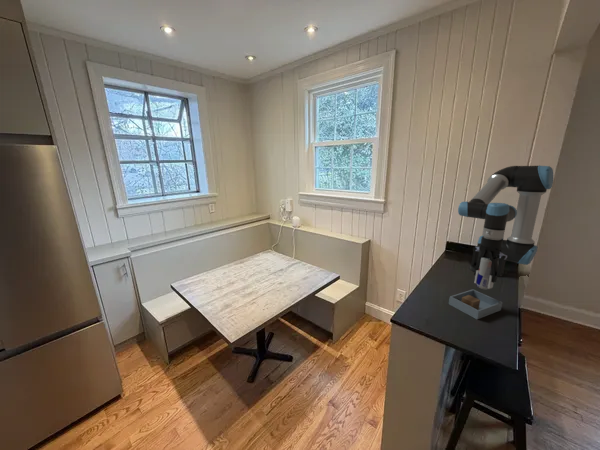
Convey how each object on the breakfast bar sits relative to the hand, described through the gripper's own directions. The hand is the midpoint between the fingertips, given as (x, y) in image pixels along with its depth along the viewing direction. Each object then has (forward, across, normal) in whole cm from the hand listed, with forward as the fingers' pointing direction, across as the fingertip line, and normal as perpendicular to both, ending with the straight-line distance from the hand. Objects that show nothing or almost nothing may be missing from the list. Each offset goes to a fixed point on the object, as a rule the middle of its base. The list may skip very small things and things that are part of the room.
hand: (483, 285), depth 114 cm
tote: (+11, 0, -4) cm, 11 cm away
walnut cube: (+10, 0, -8) cm, 13 cm away
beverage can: (+1, 0, 0) cm, 1 cm away
